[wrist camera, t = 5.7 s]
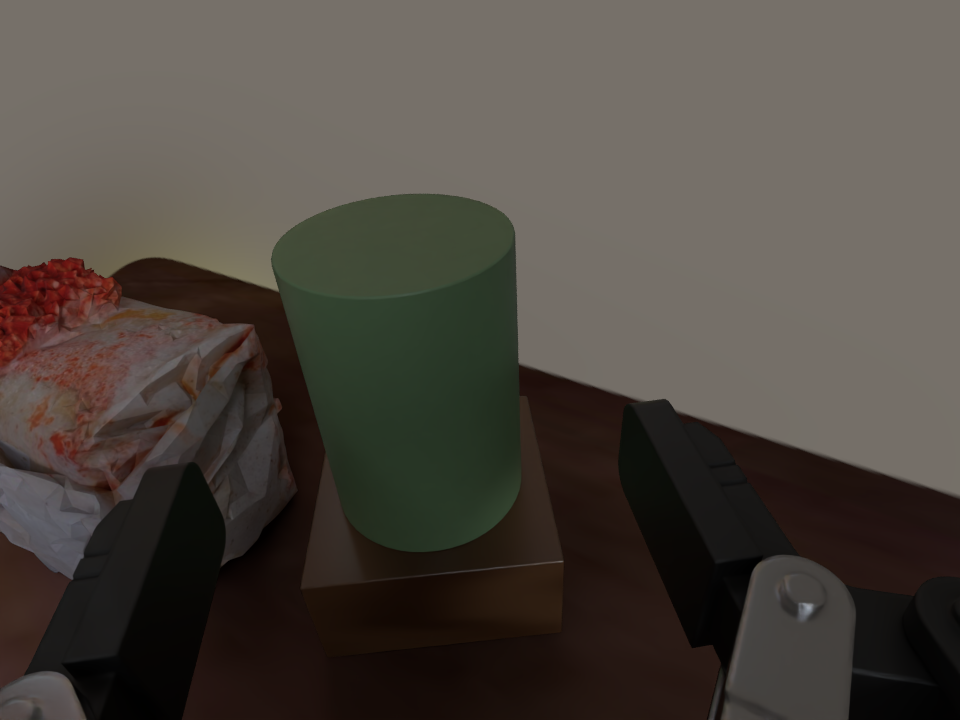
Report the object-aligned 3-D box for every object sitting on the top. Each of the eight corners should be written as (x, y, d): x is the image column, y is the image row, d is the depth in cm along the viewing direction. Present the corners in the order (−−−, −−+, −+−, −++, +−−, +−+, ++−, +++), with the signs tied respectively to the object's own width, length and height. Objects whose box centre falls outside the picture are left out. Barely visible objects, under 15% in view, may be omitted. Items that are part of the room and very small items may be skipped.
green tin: (423, 397, 22) (392, 180, 17) (556, 459, 19) (561, 219, 14) (302, 494, 18) (219, 255, 14) (441, 589, 15) (397, 326, 11)
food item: (342, 482, 23) (277, 250, 18) (188, 673, 18) (16, 421, 12) (100, 406, 28) (-13, 204, 22) (-84, 536, 22) (-301, 310, 17)
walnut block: (528, 463, 24) (527, 395, 22) (562, 633, 18) (564, 561, 16) (349, 481, 23) (331, 413, 21) (326, 658, 18) (298, 589, 16)
